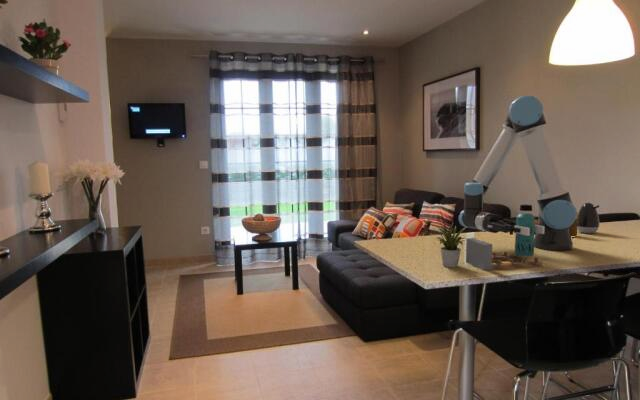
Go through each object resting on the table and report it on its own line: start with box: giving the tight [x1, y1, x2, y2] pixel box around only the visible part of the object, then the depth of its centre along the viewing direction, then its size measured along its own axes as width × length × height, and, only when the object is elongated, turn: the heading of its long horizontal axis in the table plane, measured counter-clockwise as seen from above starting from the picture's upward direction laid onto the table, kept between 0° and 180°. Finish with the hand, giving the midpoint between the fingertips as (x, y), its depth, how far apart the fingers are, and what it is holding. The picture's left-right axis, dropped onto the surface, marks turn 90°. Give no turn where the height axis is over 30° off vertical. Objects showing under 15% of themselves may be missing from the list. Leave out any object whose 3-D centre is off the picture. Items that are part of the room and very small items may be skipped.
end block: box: [465, 237, 493, 271], centre depth 160 cm, size 3×12×9 cm, turn 11°
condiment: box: [569, 216, 578, 236], centre depth 214 cm, size 7×8×12 cm
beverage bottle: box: [514, 204, 536, 257], centre depth 163 cm, size 6×7×20 cm
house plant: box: [432, 222, 468, 268], centre depth 161 cm, size 14×14×16 cm
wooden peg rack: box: [492, 251, 543, 271], centre depth 163 cm, size 20×12×3 cm, turn 101°
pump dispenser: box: [577, 202, 600, 234], centre depth 222 cm, size 10×10×15 cm
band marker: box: [492, 255, 511, 265], centre depth 162 cm, size 3×12×1 cm, turn 11°
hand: (536, 231), depth 158 cm, fingers closed on beverage bottle, 6 cm apart
